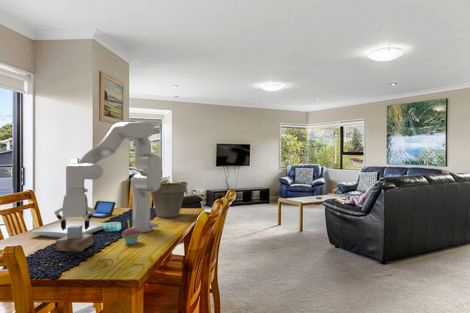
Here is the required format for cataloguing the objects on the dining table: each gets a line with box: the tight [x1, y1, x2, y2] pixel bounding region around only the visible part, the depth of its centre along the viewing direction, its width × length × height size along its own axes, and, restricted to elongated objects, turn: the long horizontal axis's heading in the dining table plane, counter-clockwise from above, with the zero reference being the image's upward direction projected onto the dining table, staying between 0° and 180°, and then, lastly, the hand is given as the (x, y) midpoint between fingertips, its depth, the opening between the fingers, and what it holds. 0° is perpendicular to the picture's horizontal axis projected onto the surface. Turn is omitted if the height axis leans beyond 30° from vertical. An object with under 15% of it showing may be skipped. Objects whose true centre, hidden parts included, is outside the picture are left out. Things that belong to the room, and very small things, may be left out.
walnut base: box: [56, 233, 94, 252], centre depth 150 cm, size 11×11×5 cm
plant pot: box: [150, 182, 187, 219], centre depth 224 cm, size 25×25×22 cm
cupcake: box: [121, 219, 141, 245], centre depth 158 cm, size 9×8×12 cm
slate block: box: [67, 225, 83, 239], centre depth 150 cm, size 5×5×5 cm
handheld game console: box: [87, 200, 116, 219], centre depth 222 cm, size 16×13×9 cm
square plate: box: [31, 220, 107, 239], centre depth 177 cm, size 27×27×4 cm
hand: (75, 229), depth 150 cm, fingers open, 9 cm apart
